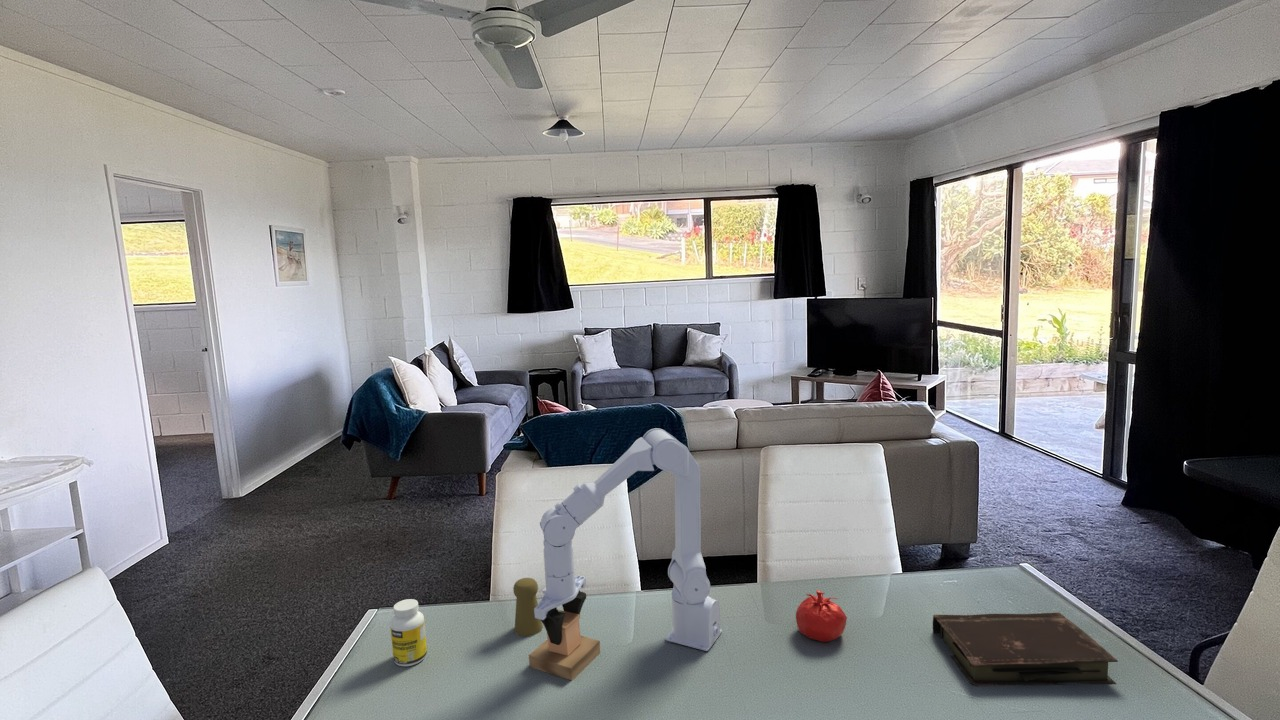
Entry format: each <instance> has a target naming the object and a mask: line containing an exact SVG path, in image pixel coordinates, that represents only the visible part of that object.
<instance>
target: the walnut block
mask: <svg viewBox="0 0 1280 720" xmlns="http://www.w3.org/2000/svg"><path fill="white" fill-rule="evenodd" d="M600 653H601V641H600V640H598V639H594V638H591V637H588V636H583V635H581V644H580V645H579V646H578V647H577V648H576V649H575V650H574V651H573V652H572V653H571V654H570V655H569V656H567V655H563V654H559V653H556V652H552V651H549V647H548V638H547V639H546V640H545V641H544V642H543V643H541V644H540V645H539V646H538V647H536V649H534V650H533V651H532V652H531V653H529V654H528V660H529V661H528V662H529V668H531V669H535V670H538V671H541V672H544V673H546V674H547V673H548V674H550V675H554V676H557V677H560V678H562V679H567V680H569V681H573V680H574V679H575V678H576V677H577V676H578V675H579V674H580V673H582V671H583V670H584V669H585V668H586V667H587V666H588V665H590V663H591V662H592V661H593V660H595V659H596V657H597V656H598V655H599V654H600Z"/></svg>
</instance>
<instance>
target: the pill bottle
mask: <svg viewBox="0 0 1280 720" xmlns="http://www.w3.org/2000/svg"><path fill="white" fill-rule="evenodd" d="M393 615H394V616H393V617H392V619H391V620H390V623H389V624H390V627H389V628H390V636H391V638H390V639H391V649H392V657H393V662H394V663H395V664H396V665H397V666H399V667H410V666H412V667H413V666H415V665H417V664H419V663H421V662H422V661H423V660H424V659H425V658H426V657H427V654H428V648H427V647H428V645H427V635H426V623H425V616H424V614H423V613H422V612H421V611H420V610H419V602H418V600H416V599H414V598H407V599H403V600H399V601H398V602H396V603H395V604H394V605H393Z"/></svg>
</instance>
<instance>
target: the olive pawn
mask: <svg viewBox="0 0 1280 720" xmlns="http://www.w3.org/2000/svg"><path fill="white" fill-rule="evenodd" d="M512 589H513V595H514V596H515V597H516V600H515V618H514V633H515V634H516V635H518V636H520V637H531V636H534V635H537V634H539V633H540V632H541V631H542V629H543V628H544V627H543V626H544V625H543V623H542V621H541V620H540V619H537V618H535V613H534V608H535V607H537V606H538V604H539V602H538V599H537V593H538V591H539V586H538V582H537V580H535V578H533V577H523V578H520V579H518V580H516V582H515V583H514V585H513V588H512Z"/></svg>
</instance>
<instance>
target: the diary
mask: <svg viewBox="0 0 1280 720" xmlns="http://www.w3.org/2000/svg"><path fill="white" fill-rule="evenodd" d="M932 634H940V639H943V641H944V643H945V644H946V645H947V647H948V648H949V650H950V651H951V653H953V654H950V655H949V656H950V657H951V660H953V662H954V663H955V665H956V666H957V667H958V669H959V670H960V672H961V673H962V674H963V676H964V677H965V678H966V680H967V681H968V682H969V683H971V685H972V684H973V685H975V686H986V687H987V686H988V687H990V686H993V687H995V686H996V687H997V686H998V687H999V686H1002V687H1003V686H1004V687H1005V686H1034V685H1035V686H1038V685H1045V686H1046V685H1047V686H1048V685H1049V686H1050V685H1052V686H1053V685H1054V686H1060V685H1061V686H1062V685H1064V686H1066V685H1068V684H1071V683H1072V684H1073V683H1076V684H1089V685H1117V682H1116V681H1114V679H1112V678H1111V677H1110V676H1109V675H1108V674H1109V663H1118V662H1119V661H1118V659H1117V658H1115V656H1113V655H1112V654H1111V653H1110V652H1108V651H1107V650H1106V649H1105V648H1104V647H1103V646H1101V644H1099V643H1098V642H1097V641H1096V640H1095V639H1093V638H1092V637H1091V636H1090V635H1089V634H1088V633H1087V632H1085V631H1084V630H1082V628H1080V627H1079V626H1077V625H1076V624H1075V623H1074V622H1073V621H1071V620H1070V619H1069V618H1067V617H1066V616H1064V615H1063V614H1062V613H1061V612H1040V613H1037V612H1036V613H983V614H982V613H981V614H978V613H977V614H933V616H932Z"/></svg>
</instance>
